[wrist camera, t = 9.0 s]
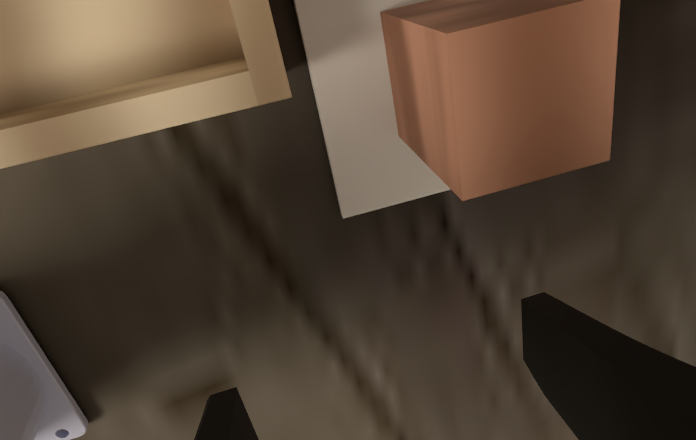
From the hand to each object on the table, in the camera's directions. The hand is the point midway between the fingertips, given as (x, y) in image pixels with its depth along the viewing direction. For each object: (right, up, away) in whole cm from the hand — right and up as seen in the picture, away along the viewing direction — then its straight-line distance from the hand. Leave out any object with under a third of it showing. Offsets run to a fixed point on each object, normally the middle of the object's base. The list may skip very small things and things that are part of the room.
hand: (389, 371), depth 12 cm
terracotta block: (+3, +9, +6) cm, 12 cm away
